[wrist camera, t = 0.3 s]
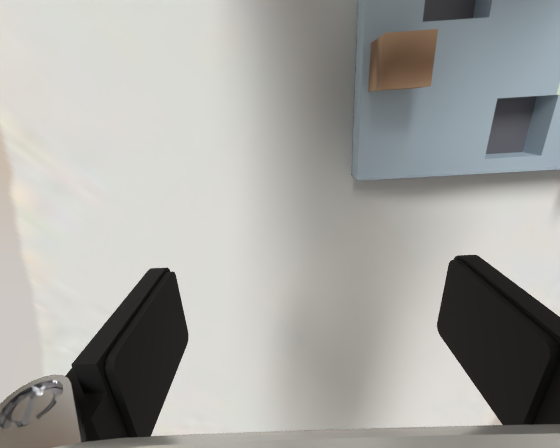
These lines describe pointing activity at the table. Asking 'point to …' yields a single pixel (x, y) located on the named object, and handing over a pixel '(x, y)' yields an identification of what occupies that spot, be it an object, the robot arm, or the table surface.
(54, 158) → the table surface
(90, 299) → the table surface
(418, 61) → the walnut cube
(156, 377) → the robot arm
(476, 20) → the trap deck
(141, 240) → the table surface
